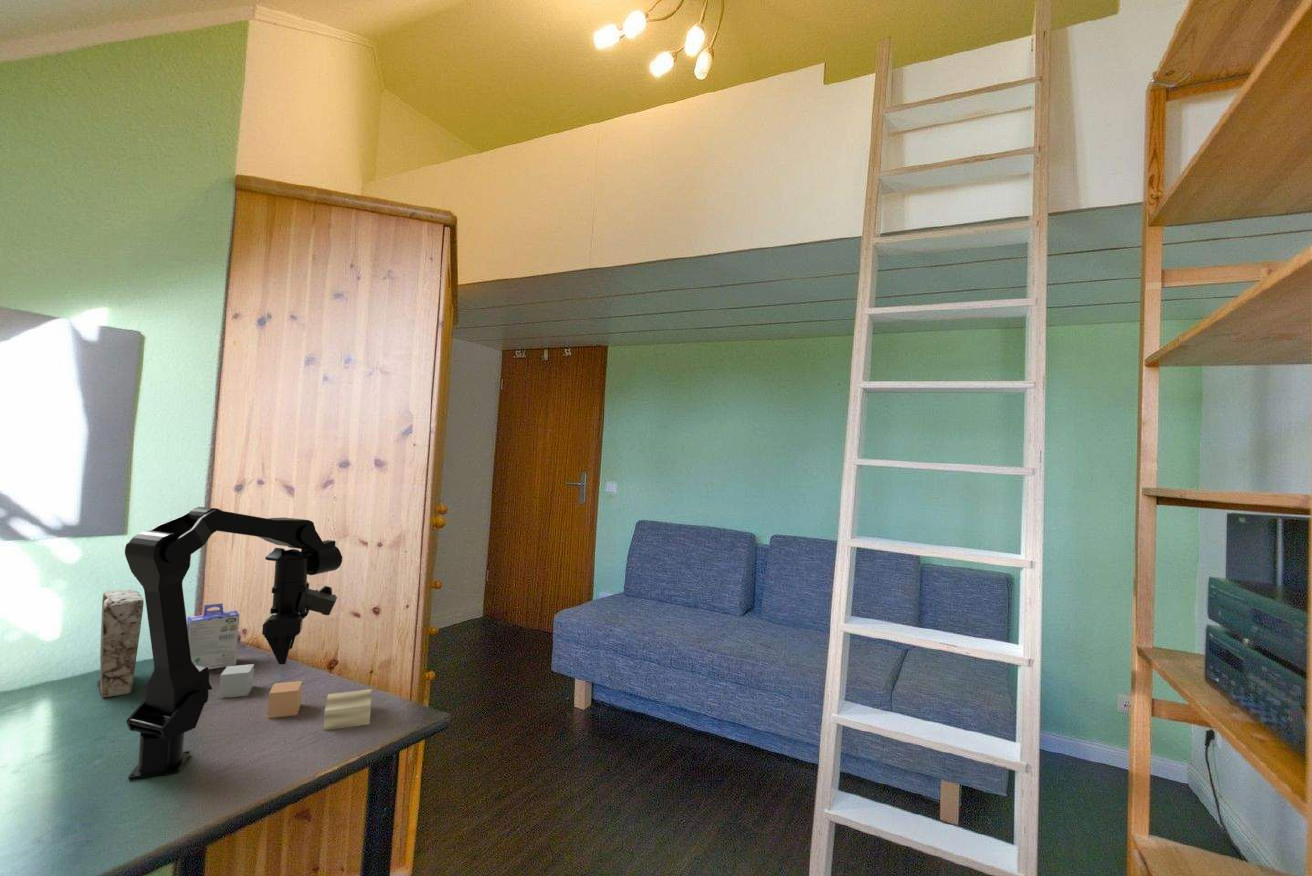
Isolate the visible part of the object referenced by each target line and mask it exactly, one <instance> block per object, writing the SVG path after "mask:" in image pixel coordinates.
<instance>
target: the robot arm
mask: <svg viewBox="0 0 1312 876" xmlns="http://www.w3.org/2000/svg"><path fill="white" fill-rule="evenodd" d="M216 532H222V533H229V534H235V535H236V534H237V535H243V536H249V537H257V538H260V539H262V540H264V541H265V542H267V543H271V544H273V545H277V546H282V547H283V546H284V547H288V548H290V549H286V550H285V548H282V547H274V549H273V550H272V551H271V552H270V553H268V554H267V555H266V556H265V560H266V561H270V562H271V561H273V562H274V563H275V564H274V565H275V566H274V577H273V578H274V579H273V580H274V581H273V586H272V587H271V594H273V595H272V606H271V607H270V610H269V611H270V616H269V617H267V619H265V621H264V622H263V624H262V632H261V634H262V636H263V638H265V640H266V641H267V642H268V645H269V647H270V649H271V651H272V653H273V655H274V657H275V659H276V661H277V663H278V665H279V666H281V665H282V666H283V665H285V664H287V660H288V657H289V653H290V650H291V649H293V647H294V645H295V644H294V643H295V639H296V637H297V636H298V635H300V633H301V631H302V629H303V623H304V619H305V618H306V617H307V616H308V615H309V612H310V611H313V612H315V613H321V615H322V616H330V614H331V612H332V611H333V609H334V606H335V604H336V602H337V598H338V596H336V594H335V593H334V594H333V588H332V587H331V586H328V585H324V586H323V587H322V588H320V589H319V590H318V589H311V588H310V582H308V576H316V575H319V574H324V573H328V572H333V571H336V570H338V569H339V568H340V567H341V565H342V563H343V556H342V553H341V550H340V549H339V547H337V546H336V540H331V539H327V540H322V538H321V537H320V535H319V533H318V532H317V530H316V526H315V522H313V521H312V520H309V519H303V518H291V517H268V518H266V517H259V516H254V515H249V514H244V513H238V512H237V513H236V512H231V511H225V510H222V509H220V508H217V507H207V506H197V507H193V508H192V509H190V510H189V511H187V512H185V513H184V514H182V515H180V516H177V517H175V518H173V519H169V520H167V521H164V522H163V523H160V524H158V525H155V526H154V527H153V528H151V529H149V530H144V531H142V532H139V533H137V534H136V535H134V536H133V537H132V538H131V539H130V540H129V542H127V543H126V545H125V546H124V556H125V559H126V561H127V563H128V567H129V569H130V570H129V571H130V572H131V573H132V575H133V576H134V578H136V580H137V581H138V582H139V584H140V585H141V586H142V588H143V591H144V599H145V606H146V615H147V622H148V629H149V637H150V644H151V653H152V661H153V667H154V668H153V671H152V674H151V675H150V677H149V680H148V681H147V682H146V685H145V686H146V688H145V698H144V700H142V702H141V703H140V704H139V705H138V706H137V708H136V709H135V710H134V711H133V712H132V713H131V715H130V716H129V717H128V718H127V719H126V721H125V722H126V724H127V727H128V730H129V731H132V732H137V733H140V734H139V747H138V751H139V752H138V761H137V765H136V766H135V767H134V768H133V769H132V771H131V773H129V774H128V777H127V779H128V780H136V779H142V778H150V777H157V776H163V775H171V774H176V773H179V771H180V770H181V769H182V767H183V766H184V764H185V763H186V762H187V760H188V758H189V757H190V755H191V751H190V750H185V751H184V743H185V733H186V732H189V731H191V730H194V729H195V728H196V727H197V724H198V722H199V719H200V717H201V714H202V712H203V709H204V707H205V704H206V703H208V700H209V691H211V690H212V689H213V687H212V685H211V684H210V683H211V682H210V670H209V669H208V667H203V666H199V665H194V664H193V662H192V659H191V652H190V644H189V635H188V627H187V614H186V605H185V597H184V595H185V593H184V588H183V581H184V579H185V577H186V575H187V573H188V571H189V569H190V567H191V559H192V554H194V553H195V552H197V551H198V550H200V549H202V547H203V546H205V544H206V543H207V541H209V539H210V537H211V536H212V535H213V534H214V533H216ZM299 549H300V550H299Z"/></svg>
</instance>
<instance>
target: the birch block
mask: <svg viewBox="0 0 1312 876" xmlns="http://www.w3.org/2000/svg"><path fill="white" fill-rule="evenodd" d="M372 691H373V690H372V688H370V689H361V690H360V689H359V690H352V691H344V692H336V693H335V692H334V693H328V694H327V698H326V704H325V708H324V713H323V714H324V716H323V729H322V730H323V731H328V730H335V729H337V730H338V729H344V728H350V727H357V726H363V725H370V724H371V712H372V711H371V709H372Z"/></svg>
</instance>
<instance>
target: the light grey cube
mask: <svg viewBox="0 0 1312 876" xmlns="http://www.w3.org/2000/svg"><path fill="white" fill-rule="evenodd" d="M254 673H255V664H254V663H252V664H239V665H233V666H227V667H224V670H223V671H222V672H221V674H220V676H219V677H220V678H219V679H220V681H219V691H218V692H219V693H218V699H227V698H226V697H228V698H235V697H246V696H249V693H250V692H251V690H252V689H253V686H254ZM251 688H252V689H251ZM224 697H225V698H224Z"/></svg>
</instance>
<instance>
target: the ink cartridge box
mask: <svg viewBox="0 0 1312 876" xmlns="http://www.w3.org/2000/svg"><path fill="white" fill-rule="evenodd" d="M223 605H224V604H223V603H213V604H205V605H204V608H203V614H200V615H194V616H187V617H186V619H187V627H188V635H189V644H190V652H191V659H192V662H193V664H194V665H199V666H203V667H208V669H209V671H210V670H214V669H220V668H221V669H222V668H226V667H227V666H237V660H238V659H237V658H238V656H237V655H238V643H239V624H240V614H239V613H238V610H229V611H224V608H223V607H224V606H223ZM212 608H219V609H214V610H208V609H212Z"/></svg>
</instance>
